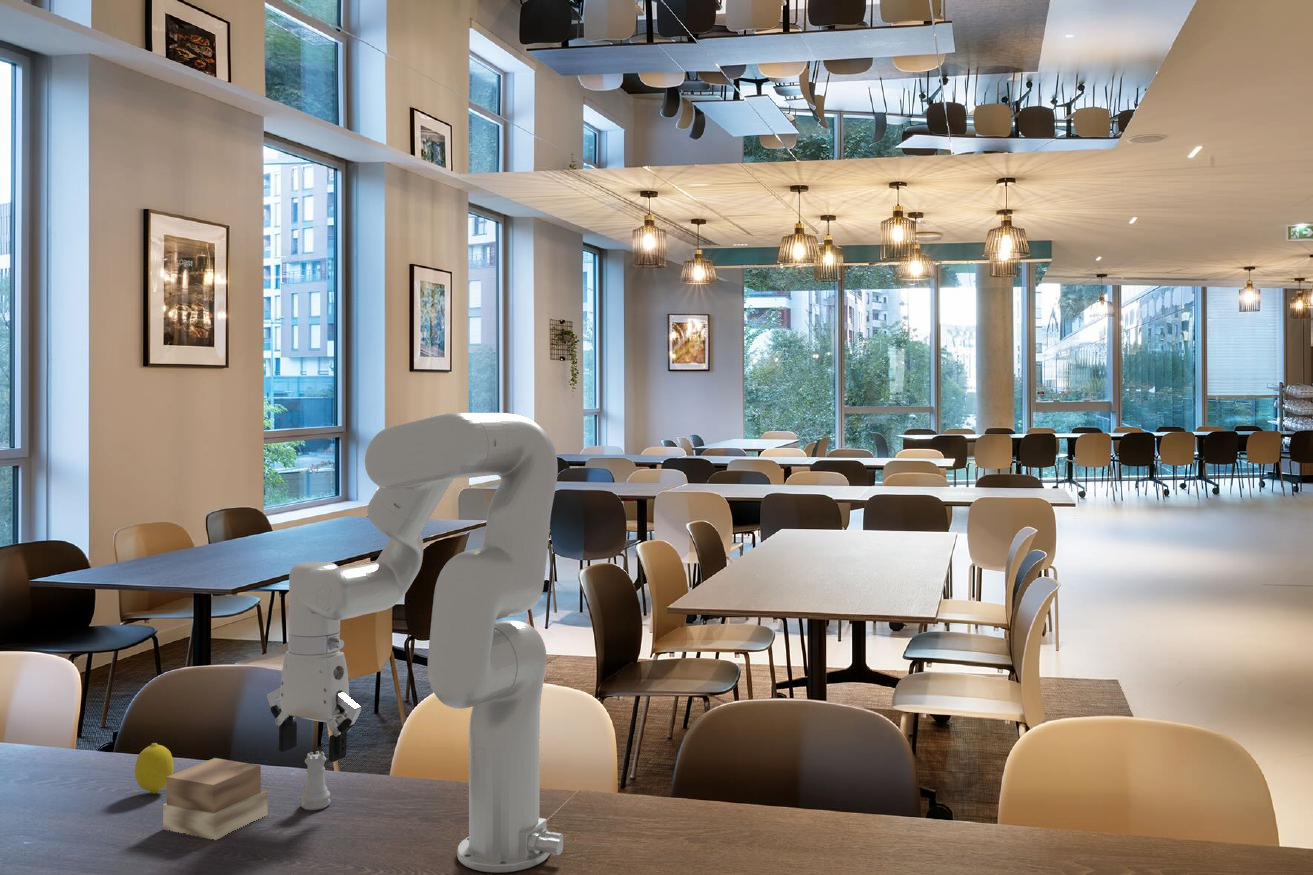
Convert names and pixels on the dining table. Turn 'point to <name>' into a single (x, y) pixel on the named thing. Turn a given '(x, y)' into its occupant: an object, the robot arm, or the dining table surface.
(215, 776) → the tan top block
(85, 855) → the dining table surface
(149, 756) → the lemon
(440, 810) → the dining table surface
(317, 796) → the rook chess piece
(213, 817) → the beech base block
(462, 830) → the dining table surface
